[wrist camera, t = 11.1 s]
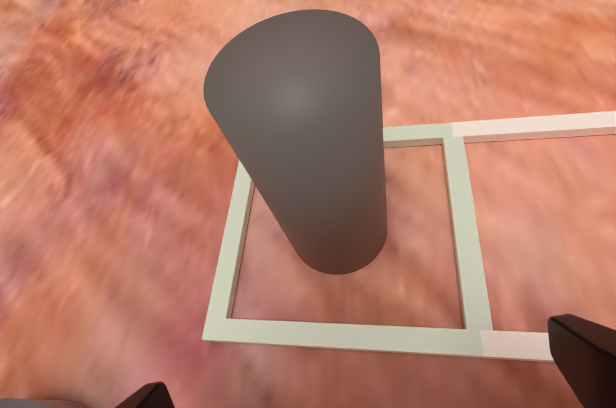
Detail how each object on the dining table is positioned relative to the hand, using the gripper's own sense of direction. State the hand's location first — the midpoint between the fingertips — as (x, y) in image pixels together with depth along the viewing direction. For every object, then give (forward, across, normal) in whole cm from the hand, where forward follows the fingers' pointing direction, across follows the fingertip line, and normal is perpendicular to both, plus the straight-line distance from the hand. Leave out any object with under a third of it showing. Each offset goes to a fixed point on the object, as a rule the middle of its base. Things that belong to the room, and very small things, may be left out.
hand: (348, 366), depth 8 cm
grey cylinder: (+11, 0, 0) cm, 11 cm away
